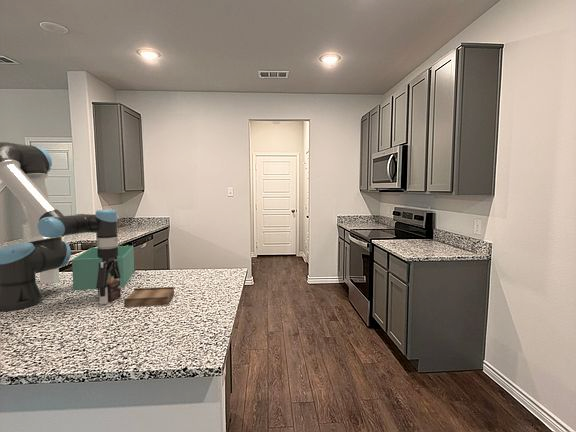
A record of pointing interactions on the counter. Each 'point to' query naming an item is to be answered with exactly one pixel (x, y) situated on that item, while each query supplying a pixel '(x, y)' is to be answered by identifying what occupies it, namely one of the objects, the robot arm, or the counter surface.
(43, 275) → the milk
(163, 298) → the dock
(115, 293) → the box
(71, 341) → the counter surface
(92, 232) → the robot arm
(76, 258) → the box
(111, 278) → the tan rounded cube
